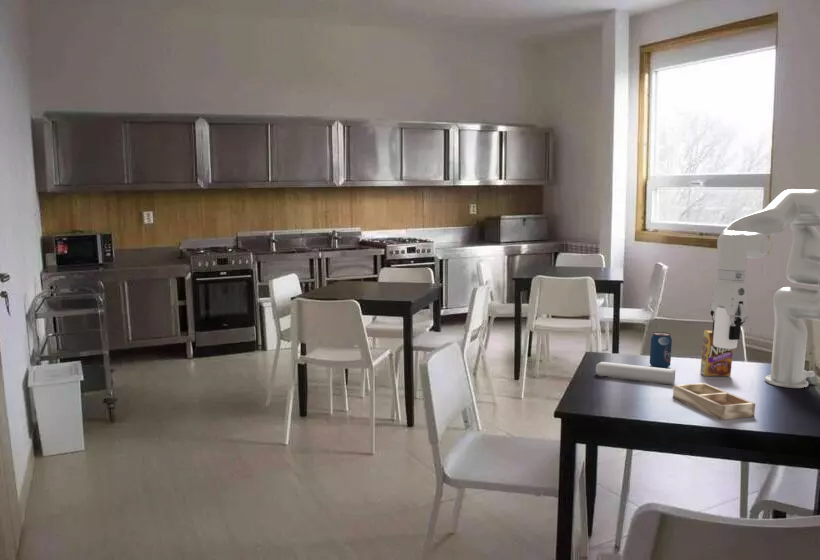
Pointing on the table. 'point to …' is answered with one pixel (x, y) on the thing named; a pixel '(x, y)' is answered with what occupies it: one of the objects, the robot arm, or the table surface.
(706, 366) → the candy box
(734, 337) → the robot arm
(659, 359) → the soda can
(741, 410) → the slot rack
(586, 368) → the table surface
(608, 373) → the tube
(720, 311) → the can
